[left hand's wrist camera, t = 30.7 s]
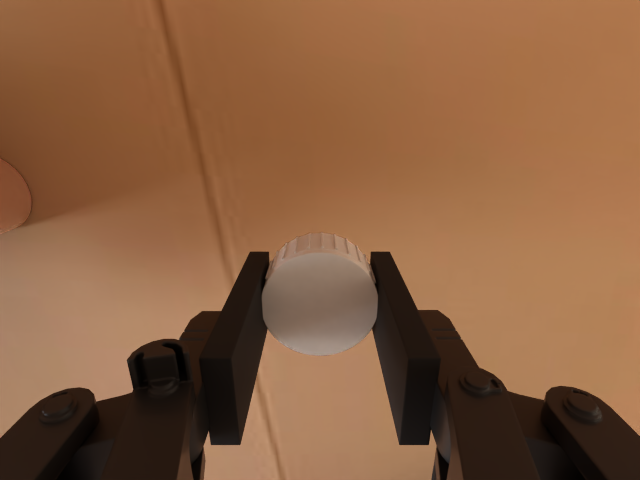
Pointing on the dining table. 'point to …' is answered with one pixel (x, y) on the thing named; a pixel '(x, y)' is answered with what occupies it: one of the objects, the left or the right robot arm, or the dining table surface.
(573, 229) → the dining table surface
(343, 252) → the cap
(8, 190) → the bottle
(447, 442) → the left robot arm
